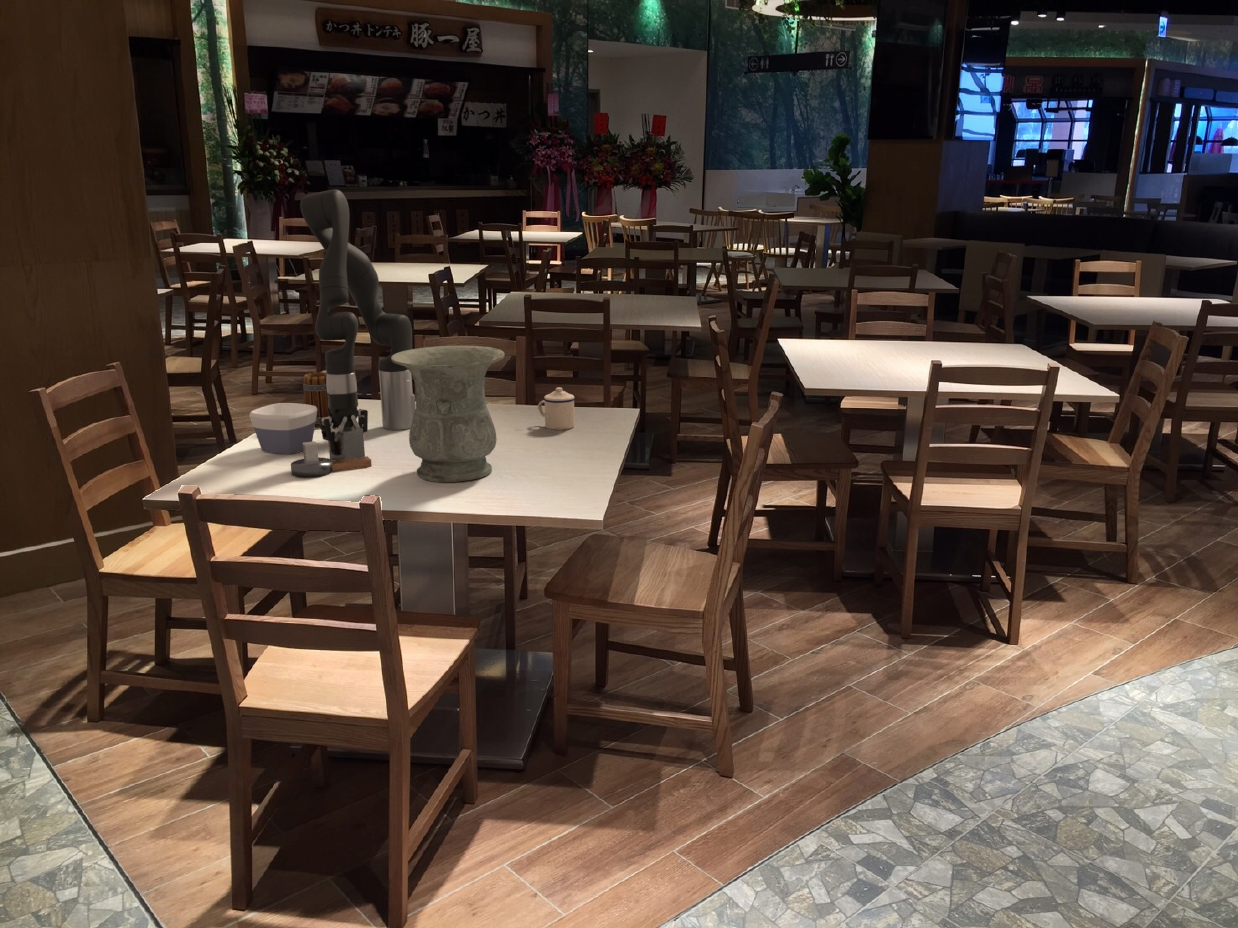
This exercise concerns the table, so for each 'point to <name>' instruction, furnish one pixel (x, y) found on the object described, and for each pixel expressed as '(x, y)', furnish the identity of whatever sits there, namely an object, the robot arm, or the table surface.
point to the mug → (317, 394)
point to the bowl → (284, 426)
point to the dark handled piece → (323, 463)
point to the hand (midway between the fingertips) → (346, 452)
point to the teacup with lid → (558, 410)
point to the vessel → (451, 411)
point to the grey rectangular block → (349, 444)
